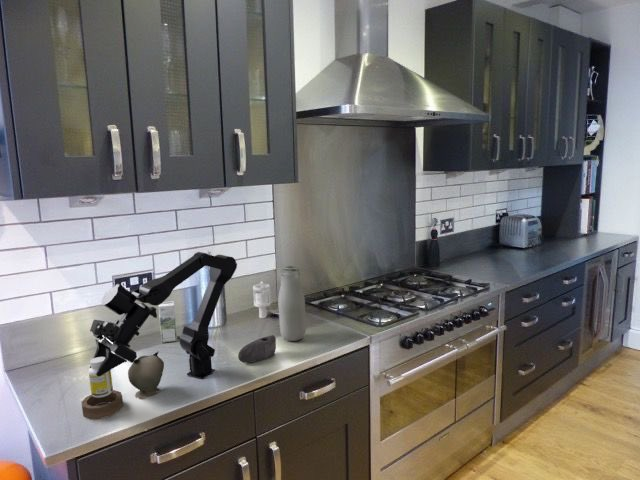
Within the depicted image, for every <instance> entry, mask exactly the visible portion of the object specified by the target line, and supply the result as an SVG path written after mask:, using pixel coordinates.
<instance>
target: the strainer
mask: <svg viewBox="0 0 640 480" xmlns="http://www.w3.org/2000/svg"><path fill="white" fill-rule="evenodd" d="M252 291H253V292H252V294H253V307H256V308H258V317H259V319H266V318H267V307H269V306H271V304H272V303H271V287H270V284H268V283H264V281H260V282H259V283H257V284H254V285H253V286H252Z"/></svg>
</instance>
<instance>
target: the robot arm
mask: <svg viewBox="0 0 640 480" xmlns="http://www.w3.org/2000/svg"><path fill="white" fill-rule="evenodd" d="M204 267H209V269H208V272H209V273H208V274H209V281H208V283H207V286H206V289H205V291H204V293H203V296H202V298H201V302H200V305H199V307H198V310H197V312H196V314H195V317H194V320H193V322H192V323H191V324H189V326H187V325H184V327H182V328H183V329H182V332H181V335H180V336H179V339H180V341H179V346H180V347H181V349H182V350H184V351H185V353H186V354H187V355H189V356H188V357H189V359H188V364H189V372H187V373H186V375H187V376H189V377H193V378H197V379H204V378H206V377H208V376H209V375H211V374H214V373H215V372H216V369H215V368H213V365H212V363H213V362H212V358H213V357H214V356H215V351H216V349H215V348H213V347H212V346H210V345H209V340H210V339H209V338H210V335H209V326H210V324H211V321H212V318H213V316H214V312H215V310H216V308H217V306H218V303H219V299H220V298H221V295H222V292H223V289H224V287H225V285H226V284H227V283H228V282H229V281H230V280H231V279H232V278H233V276H234V273H235V272H236V271H237V269H238V263H237V261H236V258H234V257H233V256H229V255H224V254H216V255H212V254H209V253H205V252H201V251H198V252H195V253H194V254H193V255H192V256H190V257H189V258H188V259H186V260H185V261H184V262H182V263H181V264H179V265H178V266H177V267H175V268H173V269H172V270H171V271H169V272H168V273H165V275H162V276H160V277H157V278H153V279H151V280H149V281H146V282H144V283H142V285H140V286H139V288H136V289H132V290H131V291H129V290H128V289H126V288H125V286H123V285H122V284H120V283H117V284H116V285H115V286H113V287H111V288H110V289H109V290H108V291H106V292H105V293H104V295H103V296H102V297H101V301H100V303H101V305H102V306H104V307H105V308H107V309H108V310H111V311H112V312H113V313H115V314H117V315H118V316H121V315H123V316H122V317H121V319H119V318H117V319H115V320H114V321H113V322H111V321H110V322H109V321H105V320H99V319H93V321H92V324H91V327H90V330H89V332H92V334H93V337H94V338H96V339H94V340H95V341H94V342H95V343H96V350H95V354H94V356H93V358H92V359H94V358H97V357H105V359H104V361H103V363H102V364H101V366H100V368H99V370H98V371H97V373H96V375H97V376H101V375H103V374H105V373H106V372H108V371H110V370H111V371H112V370H113V369H114V368H116V367H119V366H120V365H122V364H123V363H127V362H130V363H131V364H133V362H134V360H135V359H138V358H137V357H138V356H137V351H135V350H133V348H131V345H130V343H131V342H132V340H133V339H134V338H135V336H137V337H138V336H139V335H140V334H141V333H140V332H139V331H140V328H142V326H144V324H145V323H146V321H147V320H148V318H149V317H150V316H151V317H153V318H155V319H157V318H158V314H157V308H156V307H154V306H157V307H158V306H159V305H160V304H161V303H163V302H166V299H168V298H169V297H170V296H171V295H172V292H173V290H174V289H175V288H176V287H178V286H179V285H180V284H182V283H183V282H185V281H187V280H188V279H189V278H190V277H192V276H193V275H195V274H196V273H197V272H198V271H200V270H202V269H203V268H204ZM136 301H137V302H140V303H137V302H136ZM147 304H149V305H151V306H148V305H147ZM90 368H91V366H89V369H90Z"/></svg>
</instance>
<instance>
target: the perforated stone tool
mask: <svg viewBox="0 0 640 480" xmlns="http://www.w3.org/2000/svg"><path fill="white" fill-rule="evenodd" d="M276 341H277V337H276V336H275V335H274V334H271V335H268V336H264V337H261V338H258V339H256V340H253V341H251V342H249V343H247V344H246V345H244V346H243V347H242V348H241V349H240V350H239V352H238V360H239V361H240V362H241V363H244V364H246V363H253V362H259V361H262V360H265V359H268V358H269V357H273V356H274V355H276V349H277V343H276Z"/></svg>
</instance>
